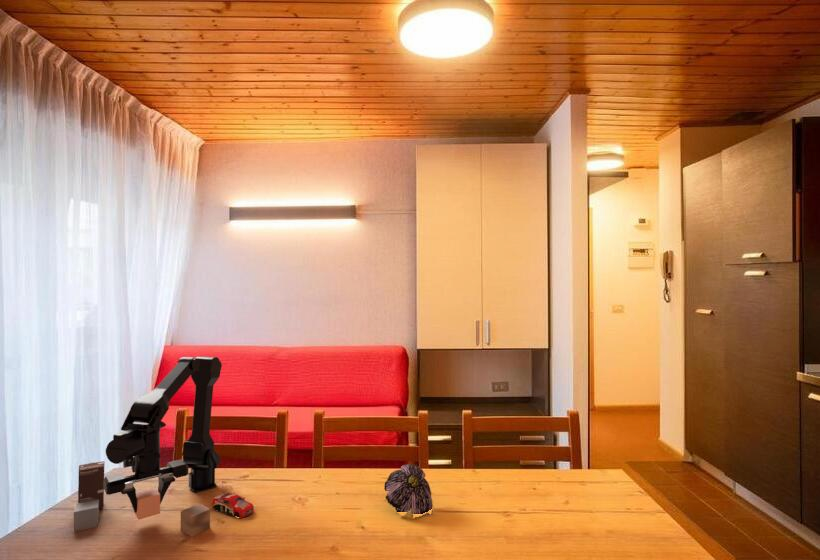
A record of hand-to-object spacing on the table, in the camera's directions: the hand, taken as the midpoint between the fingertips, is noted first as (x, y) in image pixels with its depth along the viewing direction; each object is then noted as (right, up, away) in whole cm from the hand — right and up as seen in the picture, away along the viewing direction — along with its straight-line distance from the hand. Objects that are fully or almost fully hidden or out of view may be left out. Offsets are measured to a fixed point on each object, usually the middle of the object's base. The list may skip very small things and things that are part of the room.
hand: (147, 508), depth 123 cm
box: (-20, -4, +8) cm, 22 cm away
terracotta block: (0, -1, 0) cm, 1 cm away
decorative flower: (+68, -5, +11) cm, 69 cm away
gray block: (-16, -4, 0) cm, 16 cm away
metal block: (+13, -5, -2) cm, 14 cm away
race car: (+19, -5, +8) cm, 21 cm away
